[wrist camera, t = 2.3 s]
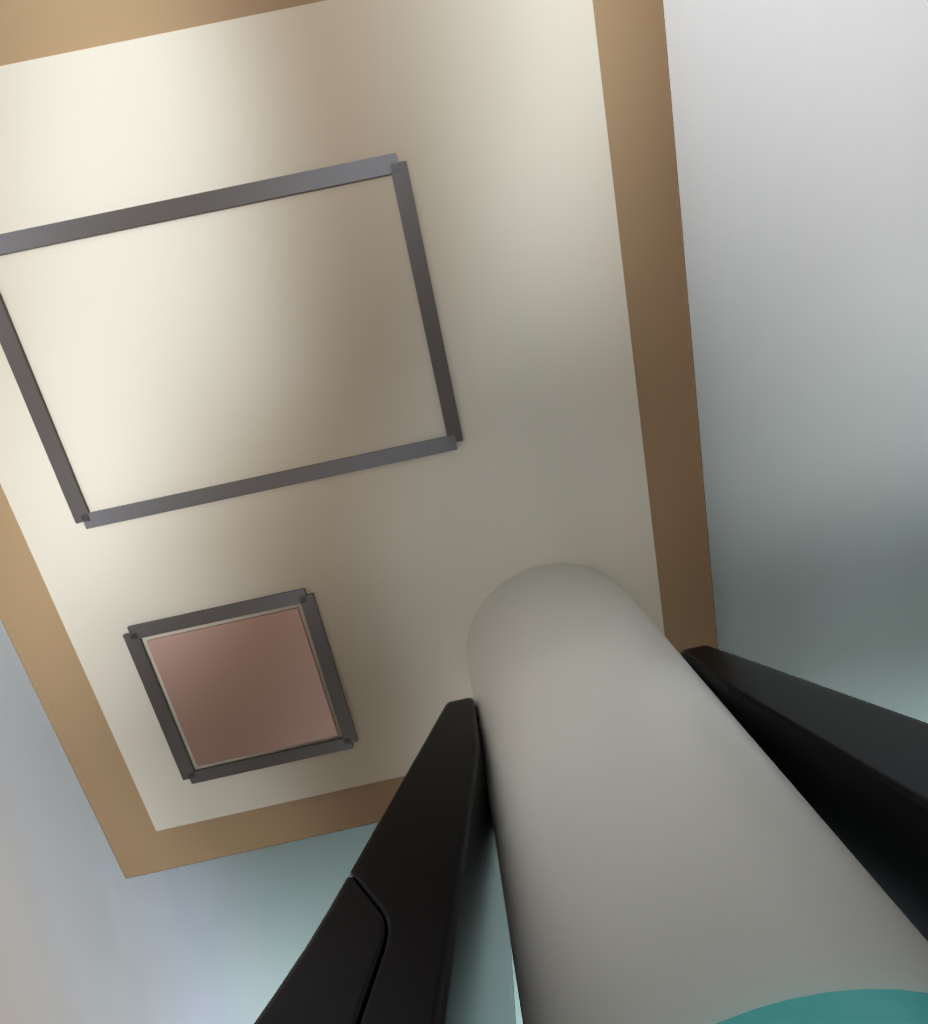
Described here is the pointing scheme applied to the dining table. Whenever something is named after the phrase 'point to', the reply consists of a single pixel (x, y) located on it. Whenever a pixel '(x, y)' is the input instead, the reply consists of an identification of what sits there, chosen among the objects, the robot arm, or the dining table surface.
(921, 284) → the dining table surface
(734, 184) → the dining table surface
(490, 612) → the marker
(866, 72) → the dining table surface
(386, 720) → the drawing board
